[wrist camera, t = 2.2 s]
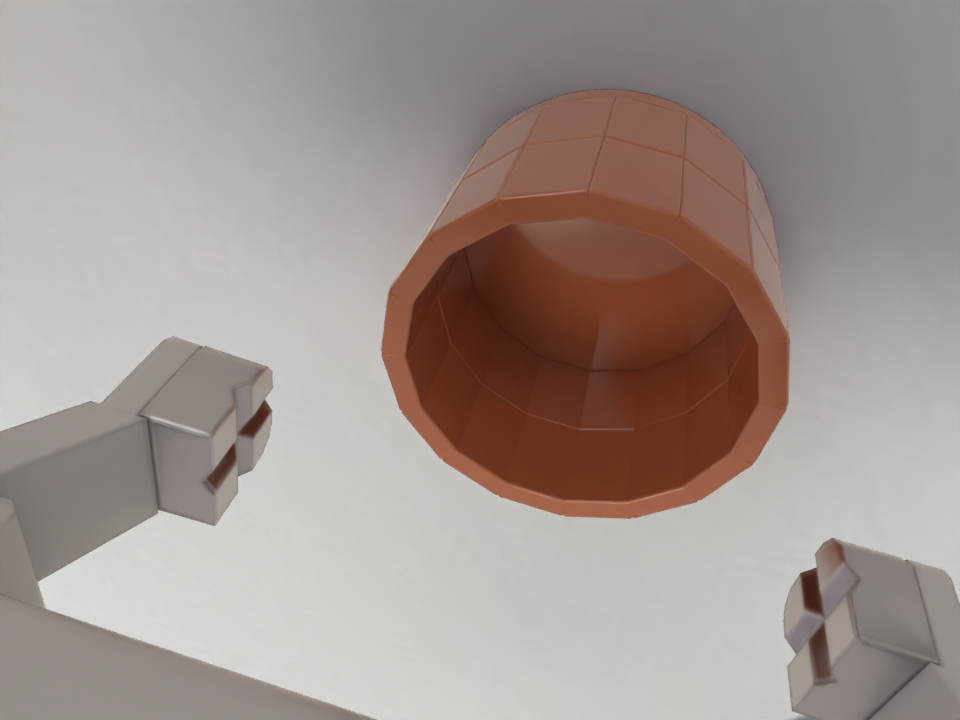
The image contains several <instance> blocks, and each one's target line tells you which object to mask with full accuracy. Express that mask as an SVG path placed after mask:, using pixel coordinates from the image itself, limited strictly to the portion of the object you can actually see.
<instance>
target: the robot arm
mask: <svg viewBox="0 0 960 720" xmlns="http://www.w3.org/2000/svg"><path fill="white" fill-rule="evenodd" d="M272 388H273V381H272V370H271V369H269V368H268V367H267V366H264V365H261V364H258V363H254V362H251V361H248V360H245V359H242V358H239V357H236V356H233V355H230V354H227V353H224V352H221V351H218V350H215V349H212V348H209V347H206V346H205V347H203V346H200V345H197V344H194V343H192V342H189V341H186V340H183V339H180V338H177V337H174V336H173V337H170V338H168V339H165V340H163V341H162V342H161V343H160V344H159V345H158V346H157V347H156V348H155V349H154V350H153V351H152V352H151V353H150V354H149V355H148V356H147V357H146V358H145V359H144V360H143V361H142V362H141V363H140V364H139V365H138V366H137V367H136V368H135V369H134V370H133V371H132V372H131V373H130V374H129V375H128V376H127V377H126V378H125V379H124V380H123V381H122V382H121V383H120V384H119V385H118V387H117V388H116V389H115V390H114V391H113V392H112V393H111V394H110V395H109V396H108V397H107V398H106V399H105V400H104V401H103V402H102V403H101V404H99V403H95V402H92V401H89V402H86V403H83V404H81V405H78V406H75V407H72V408H69V409H66V410H63V411H60V412H57V413H54V414H51V415H48V416H45V417H42V418H39V419H36V420H33V421H30V422H27V423H24V424H21V425H18V426H15V427H12V428H9V429H6V430H3V431H0V720H377V719H374V718H371V717H368V716H365V715H362V714H359V713H356V712H353V711H350V710H347V709H344V708H341V707H338V706H335V705H332V704H329V703H326V702H323V701H320V700H317V699H314V698H311V697H308V696H305V695H302V694H299V693H296V692H293V691H290V690H287V689H284V688H281V687H278V686H275V685H272V684H269V683H266V682H263V681H260V680H257V679H254V678H251V677H248V676H245V675H242V674H239V673H236V672H233V671H230V670H227V669H224V668H221V667H218V666H215V665H212V664H209V663H206V662H203V661H200V660H197V659H194V658H191V657H188V656H185V655H182V654H179V653H176V652H173V651H170V650H167V649H164V648H161V647H158V646H155V645H152V644H149V643H146V642H143V641H140V640H137V639H134V638H131V637H128V636H125V635H122V634H119V633H116V632H113V631H110V630H107V629H104V628H101V627H98V626H95V625H92V624H89V623H86V622H83V621H80V620H77V619H74V618H71V617H68V616H65V615H62V614H59V613H56V612H53V611H50V610H47V609H46V607H45V604H44V601H43V598H42V595H41V591H40V588H39V585H38V581H40V580H42V579H43V578H45V577H47V576H49V575H50V574H52V573H54V572H56V571H57V570H59V569H61V568H63V567H64V566H66V565H68V564H70V563H71V562H73V561H75V560H77V559H78V558H80V557H82V556H84V555H85V554H87V553H89V552H91V551H93V550H94V549H96V548H98V547H100V546H101V545H103V544H105V543H107V542H108V541H110V540H112V539H114V538H115V537H117V536H119V535H121V534H122V533H124V532H126V531H128V530H129V529H131V528H133V527H135V526H136V525H138V524H140V523H142V522H143V521H145V520H147V519H149V518H150V517H152V516H154V515H156V514H158V510H161V511H165V512H168V513H172V514H175V515H179V516H182V517H186V518H189V519H192V520H196V521H199V522H203V523H206V524H210V525H213V526H215V525H216V524H217V522H218V521H219V519H220V518H221V516H222V515H223V513H224V512H225V510H226V509H227V508H228V506H229V505H230V503H231V502H232V500H233V499H234V497H235V496H236V494H237V493H238V476H240V475H243V474H245V473H247V472H249V471H251V470H253V468H254V467H255V465H256V464H257V462H258V460H259V459H260V457H261V456H262V453H263V451H264V448H265V446H266V443H267V441H268V439H269V435H270V430H271V425H272V410H271V408H270V407H269V405H268V404H267V402H266V401H265V398H266V397H267V396H268V394H269V393H270V391H271V390H272ZM815 557H816V565H817V568H814V569H811V570H808V571H805V572H802V573H800V575H799V576H798V578H797V579H796V581H795V582H794V584H793V585H792V587H791V588H790V591H789V594H788V597H787V600H786V604H785V609H784V620H783V622H784V635H785V638H786V640H787V641H788V643H789V644H790V646H791V647H792V648H793V650H794V651H795V653H796V654H797V655H796V656H795V657H794V658H793V660H792V661H791V662H790V663H789V665H788V666H787V668H788V678H789V688H790V698H791V708H792V711H794V712H796V713H799V714H802V715H805V716H808V717H811V718H814V719H817V720H960V604H959V601H958V598H957V595H956V592H955V588H954V585H953V582H952V580H951V578H950V576H949V575H948V574H947V573H946V572H945V571H944V570H941V569H937V568H934V567H931V566H927V565H924V564H920V563H917V562H913V561H910V560H903V559H902V558H899V557H896V556H892V555H889V554H885V553H882V552H879V551H875V550H872V549H868V548H865V547H862V546H858V545H855V544H851V543H848V542H845V541H841V540H838V539H834V538H831V539H829V540H828V541H826V542H824V543H823V544H822V546H821V547H820V548H819V549H818V551H817V552H816V553H815Z"/></svg>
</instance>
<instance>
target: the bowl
mask: <svg viewBox="0 0 960 720" xmlns="http://www.w3.org/2000/svg"><path fill="white" fill-rule="evenodd" d="M381 352H382V358H383V361H384V364H385V367H386V370H387V373H388V376H389V379H390V382H391V384H392V387H393V390H394V393H395V396H396V399H397V402H398V405H399V408H400V410H402V414H403V415H404V416H405V417H406V418H407V420H408V421H409V422H410V423H411V424H412V426H413V427H414V428H415V429H416V430H417V431H418V433H419V434H420V435H421V436H422V437H423V439H424V440H425V441H426V442H427V443H428V445H429V446H430V447H431V448H432V449H433V451H434V452H435V453H436V454H437V455H438V457H439V458H440V459H443V461H444V462H445V463H447V464H448V465H450V466H451V467H453V468H454V469H456V470H458V471H459V472H461V473H462V474H464V475H465V476H467V477H469V478H470V479H472V480H473V481H475V482H476V483H478V484H480V485H481V486H483V487H484V488H486V489H487V490H489V491H490V492H492V493H494V494H495V495H498V494H499V496H500V497H502V498H506V499H509V500H512V501H515V502H519V503H522V504H525V505H528V506H532V507H535V508H538V509H541V510H545V511H548V512H551V513H554V514H558V515H563V514H564V516H567V517H596V518H625V519H630V518H632V517H633V518H637V517H641V516H645V515H649V514H652V513H656V512H660V511H664V510H668V509H672V508H676V507H679V506H683V505H687V504H691V503H695V502H697V501H698V500H702V499H703V498H705V497H706V496H708V495H709V494H711V493H712V492H714V491H715V490H716V489H718V488H719V487H721V486H722V485H724V484H725V483H727V482H728V481H730V480H731V479H733V478H734V477H736V476H737V475H738V474H740V473H741V472H743V471H744V470H746V469H747V468H749V467H750V466H752V464H753V463H754V462H755V461H756V460H757V458H758V456H759V455H760V453H761V451H762V450H763V448H764V446H765V445H766V443H767V441H768V440H769V438H770V436H771V435H772V433H773V431H774V430H775V428H776V426H777V425H778V423H779V421H780V419H781V418H782V416H783V414H784V413H785V411H786V409H787V405H788V402H789V362H790V337H789V330H788V323H787V316H786V308H785V301H784V294H783V287H782V280H781V274H780V266H779V259H778V252H777V245H776V238H775V231H774V224H773V219H772V214H771V212H770V210H769V208H768V206H767V203H766V198H765V195H764V193H763V190H762V188H761V185H760V183H759V180H758V178H757V176H756V174H755V172H754V171H753V169H752V167H751V166H750V164H749V162H748V161H747V159H746V158H745V156H744V155H743V154H742V153H741V152H740V150H739V149H738V148H737V147H736V145H735V144H734V143H733V142H732V141H731V140H730V139H729V138H728V137H727V136H726V135H725V134H724V133H722V132H721V131H720V130H719V129H718V128H717V127H716V126H714V125H713V124H711V123H710V122H709V121H707V120H706V119H704V118H703V117H701V116H700V115H698V114H697V113H695V112H693V111H691V110H689V109H687V108H685V107H683V106H681V105H679V104H677V103H674V102H671V101H668V100H665V99H662V98H659V97H656V96H654V95H649V94H644V93H638V92H633V91H624V90H608V89H605V90H591V91H581V92H576V93H571V94H566V95H561V96H558V97H555V98H552V99H549V100H547V101H544V102H541V103H538V104H536V105H534V106H532V107H530V108H528V109H527V110H525V111H523V112H521V113H519V114H517V115H516V116H515V117H513V118H512V119H510V120H509V121H507V122H506V123H505V124H503V125H502V126H501V127H500V128H499V129H497V130H496V131H495V132H494V133H493V134H492V135H491V136H490V137H489V138H488V139H487V140H486V141H484V143H483V144H482V146H481V147H480V149H479V150H478V151H477V152H476V153H475V155H474V156H473V158H472V160H471V161H470V163H469V164H468V166H467V167H466V169H465V170H464V172H463V173H462V174H461V176H460V177H459V179H458V180H457V182H456V183H455V185H454V186H453V187H452V189H451V191H450V192H449V194H448V195H447V197H446V199H445V200H444V202H443V204H442V205H441V207H440V208H439V210H438V212H437V213H436V215H435V216H434V218H433V220H432V221H431V223H430V224H429V226H428V228H427V229H426V231H425V233H424V234H423V236H422V237H421V239H420V240H419V242H418V244H417V245H416V247H415V248H414V250H413V252H412V253H411V255H410V257H409V258H408V260H407V261H406V263H405V265H404V266H403V268H402V269H401V271H400V273H399V274H398V276H397V277H396V279H395V281H394V282H393V284H392V285H391V287H390V291H389V292H388V297H387V306H386V314H385V322H384V330H383V338H382V346H381Z"/></svg>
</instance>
